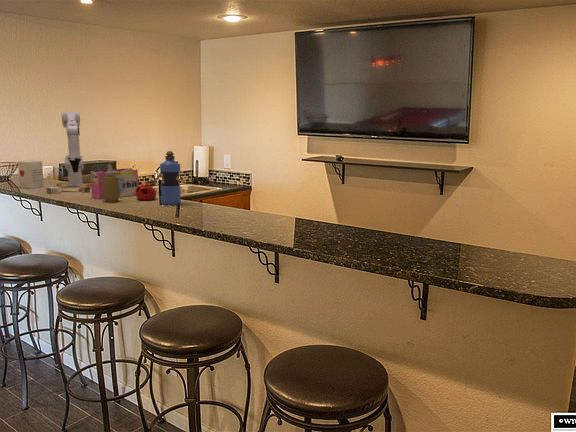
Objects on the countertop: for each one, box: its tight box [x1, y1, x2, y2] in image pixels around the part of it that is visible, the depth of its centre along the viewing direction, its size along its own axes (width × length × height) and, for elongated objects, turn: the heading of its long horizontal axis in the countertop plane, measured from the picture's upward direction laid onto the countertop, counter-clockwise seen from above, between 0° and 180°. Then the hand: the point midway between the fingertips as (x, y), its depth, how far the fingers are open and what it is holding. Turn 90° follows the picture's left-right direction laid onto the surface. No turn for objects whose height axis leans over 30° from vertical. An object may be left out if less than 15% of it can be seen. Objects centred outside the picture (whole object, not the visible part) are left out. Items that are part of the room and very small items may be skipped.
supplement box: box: [17, 159, 45, 190], centre depth 275 cm, size 9×9×15 cm
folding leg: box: [45, 186, 63, 194], centre depth 260 cm, size 8×3×3 cm, turn 146°
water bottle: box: [159, 150, 182, 206], centre depth 232 cm, size 9×9×25 cm
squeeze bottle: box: [102, 163, 120, 203], centre depth 235 cm, size 8×8×18 cm
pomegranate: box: [135, 181, 157, 201], centre depth 244 cm, size 10×10×9 cm
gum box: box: [90, 167, 139, 200], centre depth 252 cm, size 24×8×14 cm, turn 140°
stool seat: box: [56, 182, 92, 194], centre depth 269 cm, size 20×20×3 cm
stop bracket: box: [51, 188, 61, 195], centre depth 257 cm, size 2×4×3 cm, turn 59°
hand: (75, 172), depth 272 cm, fingers closed
